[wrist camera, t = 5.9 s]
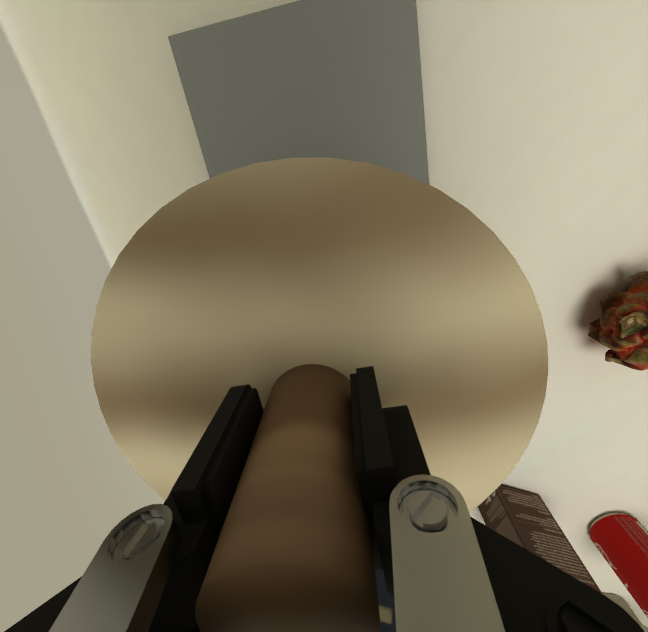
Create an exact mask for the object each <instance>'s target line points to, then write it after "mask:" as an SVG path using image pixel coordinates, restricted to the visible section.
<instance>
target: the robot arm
mask: <svg viewBox="0 0 648 632" xmlns="http://www.w3.org/2000/svg"><path fill="white" fill-rule="evenodd" d="M350 386H351V401H352V417H353V432H354V448H355V462H356V471H357V478H358V483H359V488H360V493H361V498H362V503H363V508H364V513H365V514H366V516H367V518H368V520H369V523H370V527H371V533H372V543H373V553H374V563H375V568H376V570H383V572H384V577H385V582H386V588H387V592H388V593H389V594H390V595H391V596H393V597H394V598H395V616H396V632H648V627H645V626H643V625H640V624H638V623H637V622H636V621H635V620H634V619H633V618H632V617H631V616H630V615H629V614H628V613H627V612H626V611H625V610H624V609H623V608H622V607H620V606H619V605H618V604H616V603H615V602H613V601H612V600H611V599H609V598H608V597H606V596H605V595H604V594H602V593H600V592H598V591H597V590H595V589H593V588H592V587H590V586H588V585H586V584H585V583H583V582H581V581H580V580H578V579H576V578H574V577H573V576H571V575H569V574H568V573H566V572H564V571H562V570H561V569H559V568H557V567H556V566H554V565H552V564H550V563H549V562H547V561H545V560H544V559H542V558H540V557H538V556H537V555H535V554H533V553H532V552H530V551H528V550H526V549H525V548H523V547H521V546H520V545H518V544H516V543H514V542H513V541H511V540H509V539H508V538H506V537H504V536H502V535H501V534H499V533H497V532H496V531H494V530H492V529H490V528H489V527H487V526H485V525H484V524H482V523H480V522H478V521H477V520H475V519H473V518H472V517H470V515H469V511H468V508H467V505H466V502H465V500H464V498H463V496H462V494H461V493H460V492H459V491H458V490H457V489H456V488H455V486H454V485H452V484H451V483H449V482H447V481H446V480H444V479H442V478H439V477H436V476H433V475H431V474H430V471H429V468H428V465H427V462H426V459H425V456H424V453H423V450H422V447H421V444H420V442H419V439H418V436H417V433H416V430H415V427H414V424H413V421H412V418H411V415H410V412H409V409H408V406H407V405H402V406H395V407H387V408H382V405H381V400H380V396H379V391H378V386H377V381H376V377H375V372H374V367H373V366H369V367H362V368H356V373H353V374H350ZM263 412H264V410H263V407H262V404H261V400H260V397H259V393H258V391H257V389H256V388H252V387H251V386H250V385H249V384H247V385H240V386H233V387H231V388H230V389H229V391H228V392H227V394H226V396H225V398H224V399H223V401H222V403H221V405H220V406H219V408H218V410H217V411H216V413H215V415H214V417H213V418H212V420H211V422H210V424H209V425H208V427H207V429H206V431H205V432H204V434H203V436H202V437H201V439H200V441H199V443H198V444H197V446H196V448H195V450H194V451H193V453H192V455H191V457H190V458H189V460H188V462H187V463H186V465H185V467H184V469H183V470H182V472H181V474H180V476H179V477H178V479H177V481H176V482H175V484H174V486H173V488H172V489H171V491H170V494H169V495H168V497H167V499H166V501H165V502H164V504H152V505H149V506H146V507H143V508H141V509H139V510H137V511H135V512H133V513H131V514H130V515H128V516H127V517H126V518H124V519H123V520H122V521H121V522H119V523H118V524H117V525H116V526H115V527H114V528H113V529H112V530H111V532H110V533H109V534H108V536H107V537H106V538H105V540H104V541H103V543H102V545H101V546H100V548H99V550H98V551H97V553H96V555H95V556H94V558H93V560H92V561H91V563H90V564H89V566H88V568H87V569H86V571H85V573H84V574H83V576H82V577H80V578H79V579H78V580H76V581H75V582H73V583H72V584H71V585H69V586H68V587H66V588H65V589H64V590H62V591H61V592H59V593H58V594H56V595H55V596H54V597H52V598H51V599H49V600H48V601H47V602H45V603H44V604H42V605H41V606H40V607H38V608H37V609H35V610H34V611H33V612H31V613H30V614H28V615H27V616H26V617H24V618H23V619H22V620H20V621H19V622H17V623H16V624H14V625H13V626H12V627H10V628H9V629H7V630H6V631H5V632H201V631H200V630H199V627H198V625H197V622H196V617H195V606H196V601H197V598H198V595H199V592H200V590H201V587H202V584H203V581H204V578H205V576H206V573H207V570H208V567H209V564H210V561H211V559H212V556H213V553H214V550H215V547H216V544H217V542H218V539H219V536H220V533H221V530H222V528H223V525H224V522H225V519H226V516H227V513H228V511H229V508H230V505H231V502H232V499H233V496H234V494H235V491H236V488H237V485H238V482H239V480H240V477H241V474H242V471H243V468H244V465H245V463H246V460H247V457H248V454H249V451H250V448H251V446H252V443H253V440H254V437H255V434H256V431H257V429H258V426H259V423H260V420H261V417H262V415H263Z"/></svg>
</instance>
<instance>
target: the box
mask: <svg viewBox="0 0 648 632" xmlns="http://www.w3.org/2000/svg"><path fill="white" fill-rule="evenodd" d="M478 508H479V510H480V513H481V515H482V517H483V520H484V522H485V524H486V526H487V527H489V528H490V529H492V530H494V531H496V532H497V533H499V534H501V535H502V536H504V537H506V538H508V539H509V540H511V541H513V542H514V543H516V544H518V545H520V546H521V547H523V548H525V549H526V550H528V551H530V552H532V553H533V554H535V555H537V556H538V557H540V558H542V559H544V560H545V561H547V562H549V563H550V564H552V565H554V566H556V567H557V568H559V569H561V570H562V571H564V572H566V573H568V574H569V575H571V576H573V577H574V578H576V579H578V580H580V581H581V582H583V583H585V584H586V585H588V586H590V587H592V588H593V589H595V590H597V591H598V592H600V593H602V592H601V591H600V589H599V588H598V586H597V585H596V583H595V581H594V580H593V578H592V577H591V575H590V574H589V572H588V571H587V569H586V567H585V566H584V564H583V563H582V561H581V560H580V558H579V556H578V555H577V553H576V552H575V550H574V549H573V547H572V546H571V544H570V542H569V541H568V539H567V538H566V536H565V535H564V533H563V532H562V530H561V528H560V527H559V525H558V524H557V522H556V521H555V519H554V518H553V516H552V514H551V513H550V511H549V510H548V508H547V507H546V505H545V503H544V502H543V500H542V499H541V497H540V496H539V495H536V494H532V493H528V492H525V491H521V490H517V489H513V488H510V487H506V486H502V485H500V486H499V487H498V488H497V489H496V490H495V491H494V492H493V493H492V494H491V495H489V496H488V497H487V498H486V499H485V500H484V501H483V502H482V503H481V504H480V505H478Z"/></svg>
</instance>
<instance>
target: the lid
mask: <svg viewBox="0 0 648 632" xmlns="http://www.w3.org/2000/svg"><path fill="white" fill-rule="evenodd" d="M91 339H92V340H91V341H92V342H91V364H92V371H93V379H94V386H95V390H96V394H97V397H98V401H99V405H100V408H101V411H102V413H103V416H104V418H105V421H106V423H107V425H108V427H109V430H110V432H111V434H112V436H113V438H114V439H115V441H116V443H117V444H118V446H119V448H120V450H121V451H122V453H123V455H124V456H125V457H126V458H127V460H128V461H129V462H130V464H131V465H132V466H133V468H134V469H135V470H136V472H137V473H138V474H139V475H140V476H141V477H142V478H143V479H144V480H145V482H147V484H148V485H149V486H150V487H151V488H152V489H153V490H154V491H155V492H156V493H158V494H159V495H160V496H161V497H162V498H163V499H165V500H166V499H167V497H168V495H169V494H170V491H171V489H172V488H173V486H174V484H175V482H176V481H177V479H178V477H179V476H180V474H181V472H182V470H183V469H184V467H185V465H186V463H187V462H188V460H189V458H190V457H191V455H192V453H193V451H194V450H195V448H196V446H197V444H198V443H199V441H200V439H201V437H202V436H203V434H204V432H205V431H206V429H207V427H208V425H209V424H210V422H211V420H212V418H213V417H214V415H215V413H216V411H217V410H218V408H219V406H220V405H221V403H222V401H223V399H224V398H225V396H226V394H227V392H228V391H229V389H230V388H231V387H233V386H240V385H247V384H249V385H250V386H251V387H252V388H256V389H257V391H258V393H259V397H260V400H261V404H262V407H263V410H264V412H263V415H262V417H261V420H260V423H259V426H258V429H257V431H256V434H255V437H254V440H253V443H252V446H251V448H250V451H249V454H248V457H247V460H246V463H245V465H244V468H243V471H242V474H241V477H240V480H239V482H238V485H237V488H236V491H235V494H234V496H233V499H232V502H231V505H230V508H229V511H228V513H227V516H226V519H225V522H224V525H223V528H222V530H221V533H220V536H219V539H218V542H217V544H216V547H215V550H214V553H213V556H212V559H211V561H210V564H209V567H208V570H207V573H206V576H205V578H204V581H203V584H202V587H201V590H200V592H199V595H198V598H197V601H196V606H195V617H196V622H197V625H198V627H199V630H200V631H201V632H380V627H381V623H380V613H379V603H378V593H377V583H376V573H375V563H374V553H373V543H372V533H371V527H370V523H369V520H368V518H367V516H366V514H365V513H364V508H363V503H362V498H361V493H360V488H359V483H358V478H357V471H356V462H355V448H354V432H353V417H352V401H351V386H350V374H353V373H356V368H362V367H369V366H373V367H374V372H375V377H376V381H377V386H378V391H379V396H380V400H381V405H382V408H387V407H395V406H402V405H407V406H408V409H409V412H410V415H411V418H412V421H413V424H414V427H415V430H416V433H417V436H418V439H419V442H420V444H421V447H422V450H423V453H424V456H425V459H426V462H427V465H428V468H429V471H430V474H431V475H433V476H436V477H439V478H442V479H444V480H446V481H447V482H449V483H451V484H452V485H454V486H455V488H456V489H457V490H458V491H459V492H460V493H461V494H462V496H463V498H464V500H465V502H466V505H467V508H468V511H469V512H470V511H472V510H473V509H474V508H476V507H477V506H478V505H480V504H481V503H482V502H483V501H484V500H485V499H486V498H487V497H488V496H489V495H491V494H492V493H493V492H494V491H495V490H496V489H497V488H498V487H499V486H500V485H501V483H502V482H503V481H504V480H505V478H506V477H507V476H508V475H509V474H510V472H511V471H512V470H513V469H514V467H515V466H516V464H517V463H518V461H519V459H520V458H521V456H522V454H523V453H524V451H525V450H526V448H527V446H528V444H529V442H530V440H531V438H532V435H533V433H534V431H535V428H536V426H537V424H538V421H539V417H540V414H541V410H542V407H543V403H544V399H545V393H546V385H547V376H548V354H547V340H546V335H545V330H544V325H543V320H542V315H541V312H540V310H539V307H538V304H537V302H536V299H535V296H534V294H533V291H532V288H531V286H530V284H529V282H528V281H527V279H526V277H525V275H524V274H523V272H522V270H521V268H520V267H519V265H518V263H517V261H516V260H515V258H514V257H513V256H512V254H511V253H510V252H509V251H508V249H507V248H506V247H505V246H504V244H503V243H502V242H501V241H500V240H499V238H498V237H497V236H496V235H495V233H494V232H493V231H492V230H491V229H489V228H488V227H487V226H486V225H485V224H484V223H483V222H482V221H481V220H479V219H478V218H477V217H476V216H475V215H474V214H473V213H472V212H471V211H470V210H468V209H467V208H466V207H464V206H462V205H461V204H459V203H458V202H456V201H455V200H453V199H452V198H450V197H449V196H447V195H446V194H444V193H443V192H441V191H440V190H438V189H436V188H434V187H432V186H430V185H428V184H425V183H423V182H421V181H419V180H417V179H415V178H413V177H410V176H408V175H406V174H404V173H400V172H397V171H394V170H390V169H387V168H383V167H380V166H377V165H373V164H370V163H365V162H358V161H351V160H344V159H337V158H287V159H280V160H273V161H266V162H260V163H254V164H251V165H248V166H245V167H241V168H238V169H235V170H231V171H228V172H225V173H222V174H219V175H217V176H215V177H213V178H211V179H209V180H207V181H205V182H203V183H200V184H198V185H196V186H194V187H192V188H190V189H188V190H187V191H185V192H184V193H182V194H181V195H180V196H178V197H177V198H175V199H174V200H172V201H171V202H169V203H168V204H166V205H165V206H163V207H162V208H161V209H160V210H159V211H158V212H157V213H156V214H154V215H153V216H152V217H151V218H150V219H149V220H148V221H147V222H146V223H145V224H144V225H143V226H142V227H141V228H140V229H139V230H138V231H137V232H136V233H135V235H134V236H133V237H132V239H131V240H130V241H129V243H128V244H127V245H126V246H125V248H124V249H123V250H122V252H121V253H120V254H119V256H118V258H117V260H116V262H115V264H114V265H113V267H112V269H111V271H110V273H109V275H108V277H107V279H106V281H105V283H104V286H103V289H102V292H101V295H100V298H99V301H98V303H97V306H96V311H95V317H94V323H93V329H92V338H91Z"/></svg>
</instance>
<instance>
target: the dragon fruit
mask: <svg viewBox="0 0 648 632" xmlns="http://www.w3.org/2000/svg"><path fill="white" fill-rule="evenodd" d="M631 277H632V278H633V279H634V280H633V281H632V284H631V286H630V288H629V290H628V292H620V293H614V294H610V295H608V296H606V297H605V298H604V299H603V300H602V301H601V306H602V314H601V317H600V318H599V319H597V320H595V321H593V322H592V323H590V328H589V334H588V336H590V337H591V338H593V339H595V340H596V341H598V342H599V343H600V344H602V345H604V346H606V347H608V348H610V349H611V350H608V351H607V352H606V354H605V360H606V361H608V362H609V361H610V362H611V361H613V362H615V363H619V364H622V365H624V366H627V367H629V368H632V369H636V370H646V369H648V272H644V273H638V274H635V275H633V276H631Z"/></svg>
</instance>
